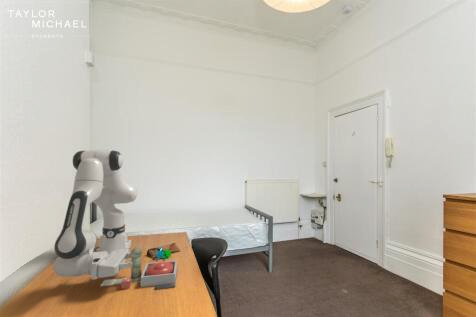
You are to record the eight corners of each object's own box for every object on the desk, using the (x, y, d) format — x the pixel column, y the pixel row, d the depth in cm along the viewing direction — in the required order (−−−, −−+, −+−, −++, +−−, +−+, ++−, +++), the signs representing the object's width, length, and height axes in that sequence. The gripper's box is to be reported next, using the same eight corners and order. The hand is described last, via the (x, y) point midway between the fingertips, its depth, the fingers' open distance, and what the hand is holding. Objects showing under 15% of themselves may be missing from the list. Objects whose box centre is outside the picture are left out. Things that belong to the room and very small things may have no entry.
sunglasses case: (152, 259, 121) (150, 247, 124) (148, 262, 125) (145, 250, 128) (182, 250, 134) (179, 240, 136) (177, 254, 138) (174, 243, 140)
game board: (107, 276, 102) (108, 265, 102) (177, 270, 109) (177, 259, 109) (92, 296, 87) (93, 283, 87) (175, 287, 93) (175, 275, 93)
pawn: (131, 277, 99) (132, 246, 100) (143, 276, 100) (143, 245, 101) (128, 282, 95) (129, 250, 95) (140, 281, 96) (141, 249, 96)
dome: (149, 271, 104) (149, 258, 104) (173, 269, 106) (173, 256, 106) (144, 283, 93) (144, 269, 93) (171, 281, 95) (172, 266, 96)
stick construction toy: (158, 260, 115) (154, 246, 119) (148, 267, 116) (145, 252, 120) (174, 259, 125) (170, 245, 129) (165, 264, 126) (161, 251, 130)
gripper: (108, 260, 105) (140, 257, 108) (89, 281, 85) (129, 277, 88) (109, 246, 105) (140, 244, 108) (90, 265, 85) (129, 261, 88)
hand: (135, 259), depth 98 cm, fingers open, 8 cm apart
